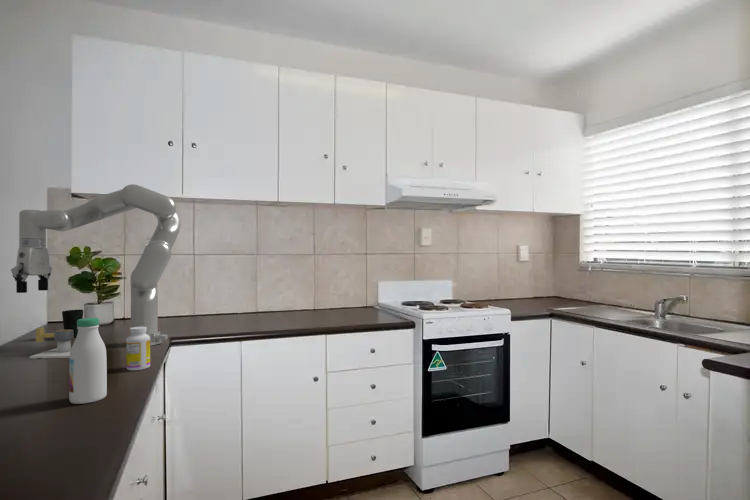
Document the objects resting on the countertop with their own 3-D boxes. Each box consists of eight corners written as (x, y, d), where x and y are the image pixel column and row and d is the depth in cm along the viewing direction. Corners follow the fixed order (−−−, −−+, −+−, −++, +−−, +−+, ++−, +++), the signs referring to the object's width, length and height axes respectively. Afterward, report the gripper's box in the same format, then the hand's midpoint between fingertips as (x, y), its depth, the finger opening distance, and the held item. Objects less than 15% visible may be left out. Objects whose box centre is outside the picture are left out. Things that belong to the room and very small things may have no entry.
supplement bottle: (145, 364, 137) (145, 325, 138) (154, 367, 133) (153, 327, 133) (122, 368, 132) (122, 328, 132) (131, 372, 128) (131, 330, 128)
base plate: (95, 348, 161) (95, 335, 161) (71, 357, 147) (71, 343, 147) (57, 349, 160) (57, 336, 161) (29, 358, 147) (29, 344, 147)
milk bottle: (113, 393, 108) (113, 316, 108) (94, 404, 101) (94, 321, 101) (82, 394, 108) (82, 316, 108) (61, 405, 100) (61, 321, 100)
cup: (58, 340, 178) (58, 312, 178) (66, 337, 186) (66, 310, 186) (79, 339, 180) (79, 311, 180) (86, 336, 188) (86, 309, 188)
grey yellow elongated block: (76, 339, 157) (76, 326, 157) (66, 342, 151) (66, 328, 151) (43, 340, 156) (43, 326, 156) (31, 343, 151) (31, 329, 151)
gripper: (23, 243, 143) (23, 293, 143) (60, 244, 160) (60, 289, 160) (1, 243, 143) (1, 293, 143) (40, 244, 160) (40, 289, 160)
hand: (32, 291), depth 151 cm, fingers open, 9 cm apart
